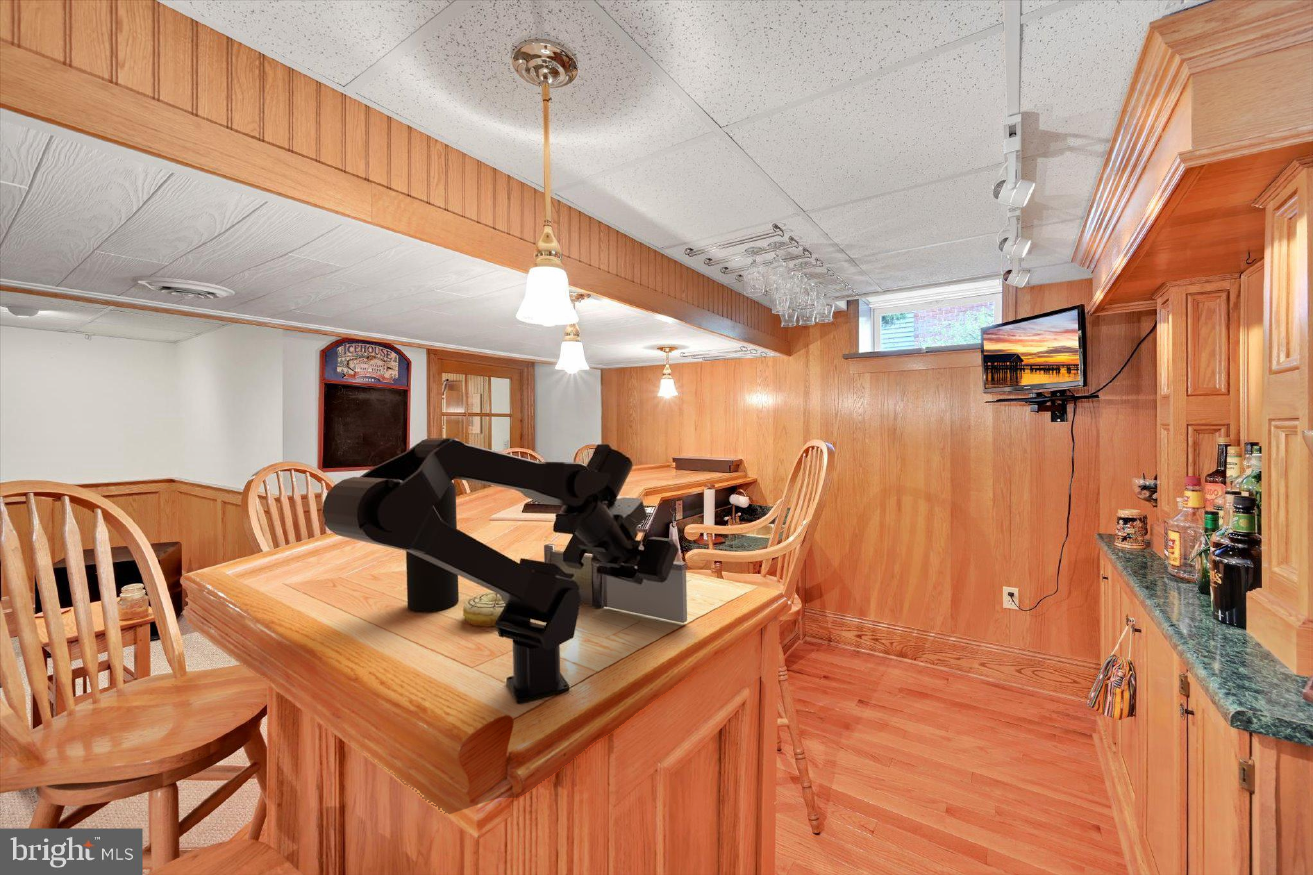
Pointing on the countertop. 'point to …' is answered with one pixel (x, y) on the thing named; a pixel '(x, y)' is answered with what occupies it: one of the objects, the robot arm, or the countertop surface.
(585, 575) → the gate frame
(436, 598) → the bottle
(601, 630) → the countertop surface
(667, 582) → the gate leaf
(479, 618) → the decorated donut
